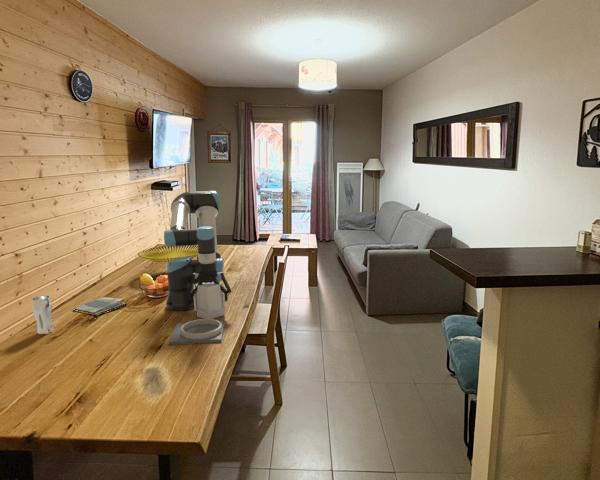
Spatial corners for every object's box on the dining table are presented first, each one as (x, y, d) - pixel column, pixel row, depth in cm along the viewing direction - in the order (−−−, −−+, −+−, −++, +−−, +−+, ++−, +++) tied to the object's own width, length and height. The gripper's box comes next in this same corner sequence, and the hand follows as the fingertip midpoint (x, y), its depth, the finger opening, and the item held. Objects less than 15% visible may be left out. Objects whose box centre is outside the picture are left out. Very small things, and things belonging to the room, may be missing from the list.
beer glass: (58, 328, 187) (53, 294, 184) (49, 335, 180) (44, 300, 177) (41, 329, 187) (36, 295, 184) (32, 335, 180) (27, 300, 177)
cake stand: (221, 269, 278) (219, 246, 275) (178, 287, 242) (176, 261, 239) (170, 264, 295) (169, 242, 292) (124, 280, 259) (121, 255, 256)
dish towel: (71, 311, 209) (70, 305, 208) (103, 300, 224) (103, 294, 224) (98, 318, 200) (97, 311, 200) (129, 305, 216) (128, 299, 215)
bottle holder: (168, 345, 169) (167, 337, 168) (177, 326, 187) (176, 319, 187) (221, 342, 170) (220, 334, 170) (224, 323, 189) (224, 316, 188)
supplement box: (225, 315, 199) (223, 283, 196) (208, 321, 192) (206, 288, 190) (212, 310, 205) (210, 279, 202) (196, 316, 198) (194, 284, 195)
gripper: (177, 265, 189) (181, 312, 193) (234, 262, 191) (237, 309, 195) (180, 261, 196) (183, 307, 201) (235, 258, 199) (237, 304, 203)
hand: (210, 308), depth 198 cm, fingers closed on supplement box, 12 cm apart
